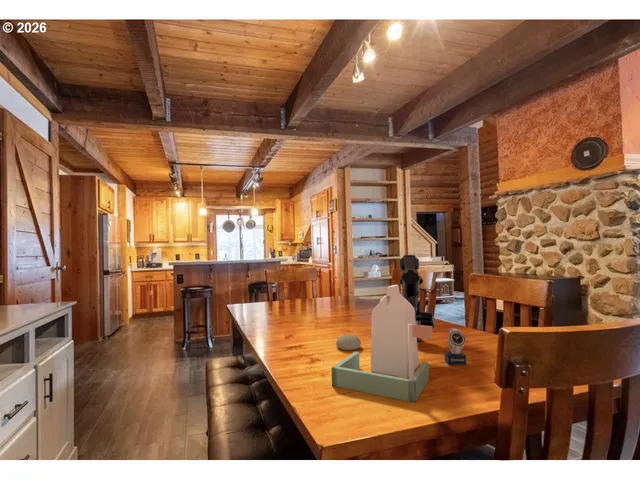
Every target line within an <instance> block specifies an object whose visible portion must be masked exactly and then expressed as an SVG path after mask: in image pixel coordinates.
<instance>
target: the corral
mask: <svg viewBox="0 0 640 480" xmlns="http://www.w3.org/2000/svg"><path fill="white" fill-rule="evenodd" d="M433 335H434V334H433V328H432V326H423V325H413V324H408V343H409V377H408V378H404V377H399V376H394V375H388V374H383V373H378V372H373V371H366V370H365V371H364V370H359V369H360V368H361V367H360V352H359V351H354V352H352V353H350V355H348V356H346V357H345V358H344V359H342V360H340V361H338V362H337V363H336V364H334V365H333V366H332V367H331V386H333V387H337V388H342V389H346V390H352V391H356V392H357V391H358V392H361V393H366V394H371V395H375V396H381V397H386V398H389V399H390V398H391V399H395V400H398V401H399V400H400V401H405V402H409V403H416V401H417V399H418V398H419V397H420V394H422V392H423V390H424V389H425V387H426V385H427V384H428V382H429V380H430V374H429V372H430V371H429V367H430V366H429V362H428V361H422V363H421V364H419V366H418V367H417V368H416V369H415V370H414V345H413V337H418V338H422V339H428V340H433V337H434V336H433Z"/></svg>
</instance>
